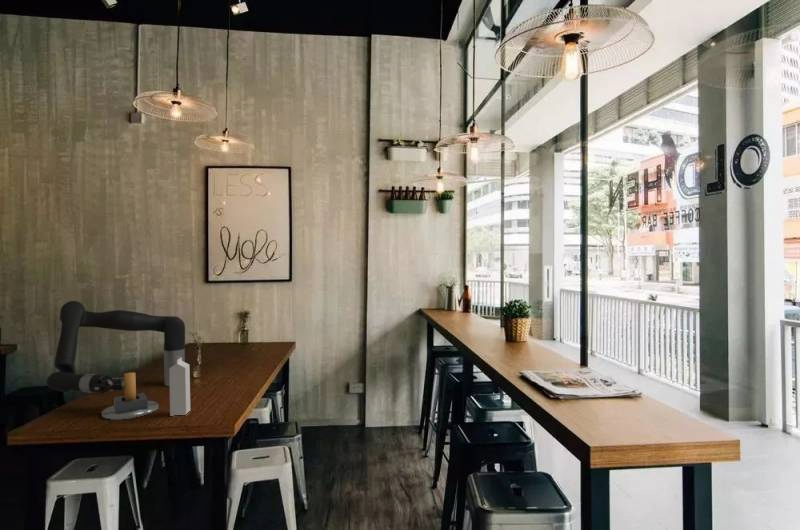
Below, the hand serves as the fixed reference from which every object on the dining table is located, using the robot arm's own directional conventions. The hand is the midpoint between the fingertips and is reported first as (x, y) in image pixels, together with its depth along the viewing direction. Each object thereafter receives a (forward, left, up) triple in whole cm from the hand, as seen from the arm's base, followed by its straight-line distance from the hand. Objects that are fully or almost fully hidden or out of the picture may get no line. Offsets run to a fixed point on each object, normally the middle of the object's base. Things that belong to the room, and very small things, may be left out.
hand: (130, 384), depth 192 cm
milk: (-16, +15, -11) cm, 25 cm away
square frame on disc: (0, 0, -11) cm, 11 cm away
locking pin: (0, 0, -9) cm, 10 cm away
